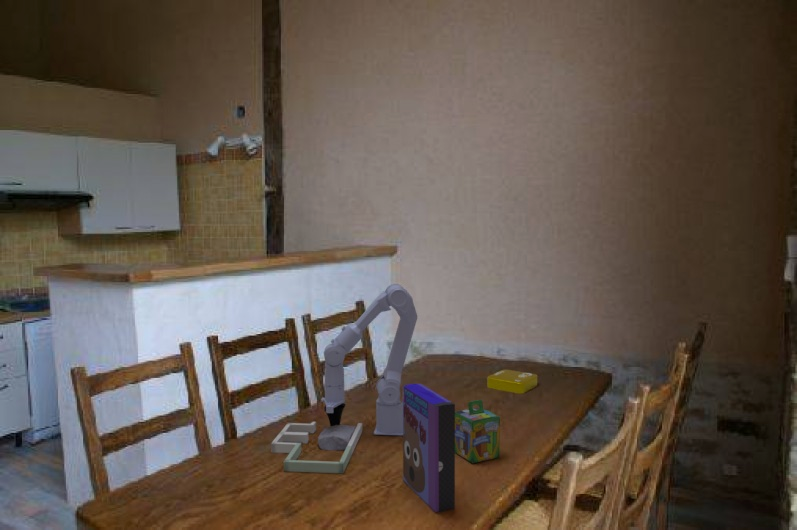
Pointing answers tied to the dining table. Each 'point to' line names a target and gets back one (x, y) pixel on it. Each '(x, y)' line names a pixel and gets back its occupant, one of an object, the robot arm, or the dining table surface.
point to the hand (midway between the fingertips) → (335, 429)
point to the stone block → (335, 437)
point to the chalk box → (477, 433)
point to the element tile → (512, 381)
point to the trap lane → (299, 434)
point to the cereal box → (429, 446)
